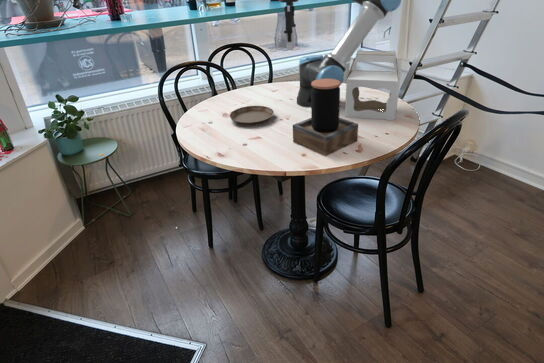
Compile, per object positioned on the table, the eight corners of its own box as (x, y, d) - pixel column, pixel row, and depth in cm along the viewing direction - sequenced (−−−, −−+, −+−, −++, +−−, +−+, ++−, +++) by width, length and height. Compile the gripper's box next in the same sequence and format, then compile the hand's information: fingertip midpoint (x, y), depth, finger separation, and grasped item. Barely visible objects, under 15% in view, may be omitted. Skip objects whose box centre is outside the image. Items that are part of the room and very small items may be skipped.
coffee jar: (341, 123, 150) (342, 78, 141) (336, 134, 141) (337, 87, 132) (314, 121, 153) (314, 77, 144) (308, 132, 145) (308, 86, 135)
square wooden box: (324, 129, 161) (324, 112, 157) (357, 141, 149) (358, 123, 145) (293, 142, 152) (292, 124, 148) (325, 156, 139) (326, 137, 136)
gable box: (344, 116, 172) (346, 54, 158) (349, 107, 183) (352, 47, 168) (394, 120, 165) (402, 55, 151) (397, 110, 176) (404, 48, 161)
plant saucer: (269, 128, 166) (268, 121, 164) (224, 128, 170) (223, 121, 168) (277, 112, 183) (277, 105, 181) (237, 111, 187) (236, 105, 185)
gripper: (281, -11, 160) (284, 41, 171) (276, -6, 139) (279, 53, 150) (299, -13, 159) (300, 40, 170) (297, -8, 138) (298, 52, 149)
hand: (290, 46), depth 160 cm, fingers open, 13 cm apart
